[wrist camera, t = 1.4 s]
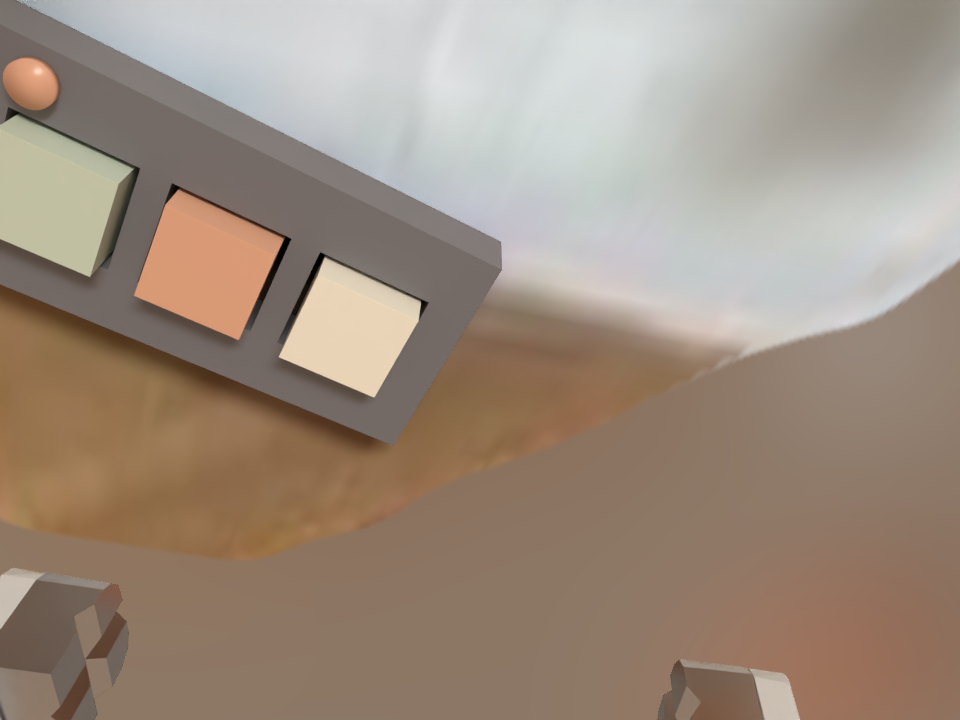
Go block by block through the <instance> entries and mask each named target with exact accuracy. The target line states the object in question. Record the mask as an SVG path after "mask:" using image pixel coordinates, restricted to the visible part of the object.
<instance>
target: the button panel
mask: <svg viewBox="0 0 960 720" xmlns="http://www.w3.org/2000/svg"><path fill="white" fill-rule="evenodd" d="M19 113H22V114H24V115H27V116H29V117H31V118H33V119H35V120H37V121H40V122H42V123H44V124H46V125H48V126H50V127H52V128H55V129H57V130H59V131H61V132H63V133H65V134H67V135H70V136H72V137H74V138H76V139H78V140H80V141H83V142H85V143H87V144H89V145H91V146H93V147H95V148H98V149H100V150H102V151H104V152H106V153H108V154H110V155H113V156H115V157H117V158H119V159H121V160H123V161H126V162H128V163H130V164H132V165H134V166H136V167H138V168H140V171H139V174H138V177H137V180H136V184H135V187H134V190H133V193H132V196H131V199H130V202H129V205H128V209H127V212H126V215H125V218H124V221H123V224H122V227H121V230H120V234H119V237H118V240H117V243H116V246H115V249H114V250H113V251H112V253H111V254H110V255H109V256H108V257H107V258H106V259H105V261H104V262H103V263H102V264H101V265H100V266H99V267H98V268H97V270H96V271H95V272H94V273H93V274H92V275H91V276H90V277H89V276H86V275H84V274H82V273H79V272H77V271H75V270H72V269H70V268H67V267H65V266H63V265H60V264H58V263H56V262H53V261H51V260H49V259H46V258H44V257H42V256H39V255H37V254H34V253H32V252H30V251H27V250H25V249H23V248H20V247H18V246H16V245H13V244H11V243H9V242H6V241H4V240H1V239H0V284H1V285H3V286H5V287H8V288H10V289H13V290H15V291H18V292H20V293H22V294H25V295H27V296H30V297H32V298H35V299H37V300H39V301H42V302H44V303H47V304H49V305H52V306H54V307H57V308H59V309H61V310H64V311H66V312H69V313H71V314H74V315H76V316H78V317H81V318H83V319H86V320H88V321H91V322H93V323H96V324H98V325H100V326H103V327H105V328H108V329H110V330H113V331H115V332H117V333H120V334H122V335H125V336H127V337H130V338H132V339H135V340H137V341H139V342H142V343H144V344H147V345H149V346H152V347H154V348H156V349H159V350H161V351H164V352H166V353H169V354H171V355H173V356H176V357H178V358H181V359H183V360H186V361H188V362H191V363H193V364H195V365H198V366H200V367H203V368H205V369H208V370H210V371H212V372H215V373H217V374H220V375H222V376H225V377H227V378H230V379H232V380H234V381H237V382H239V383H242V384H244V385H247V386H249V387H251V388H254V389H256V390H259V391H261V392H264V393H266V394H269V395H271V396H273V397H276V398H278V399H281V400H283V401H286V402H288V403H290V404H293V405H295V406H298V407H300V408H303V409H305V410H307V411H310V412H312V413H315V414H317V415H320V416H322V417H325V418H327V419H329V420H332V421H334V422H337V423H339V424H342V425H344V426H346V427H349V428H351V429H354V430H356V431H359V432H361V433H364V434H366V435H368V436H371V437H373V438H376V439H378V440H381V441H383V442H385V443H388V444H390V445H394V444H395V442H396V441H397V439H398V437H399V436H400V434H401V432H402V431H403V429H404V428H405V426H406V424H407V423H408V421H409V420H410V418H411V416H412V415H413V413H414V411H415V410H416V408H417V407H418V405H419V403H420V402H421V400H422V398H423V397H424V395H425V394H426V392H427V390H428V389H429V387H430V385H431V384H432V382H433V381H434V379H435V377H436V376H437V374H438V372H439V371H440V369H441V368H442V366H443V364H444V363H445V361H446V359H447V358H448V356H449V355H450V353H451V351H452V350H453V348H454V346H455V345H456V343H457V342H458V340H459V338H460V337H461V335H462V334H463V332H464V330H465V329H466V327H467V325H468V324H469V322H470V321H471V319H472V317H473V316H474V314H475V312H476V311H477V309H478V308H479V306H480V304H481V303H482V301H483V299H484V298H485V296H486V295H487V293H488V291H489V290H490V288H491V286H492V285H493V283H494V282H495V280H496V278H497V277H498V275H499V273H500V272H501V270H502V258H501V242H500V241H498V240H496V239H494V238H492V237H490V236H488V235H486V234H484V233H482V232H480V231H478V230H476V229H474V228H472V227H470V226H468V225H466V224H464V223H462V222H460V221H458V220H456V219H454V218H452V217H450V216H448V215H446V214H444V213H442V212H440V211H438V210H436V209H434V208H432V207H430V206H428V205H426V204H424V203H422V202H420V201H418V200H416V199H414V198H412V197H410V196H408V195H406V194H404V193H402V192H400V191H398V190H396V189H394V188H392V187H390V186H387V185H385V184H383V183H381V182H379V181H377V180H375V179H373V178H371V177H369V176H367V175H365V174H363V173H361V172H359V171H357V170H355V169H353V168H351V167H349V166H347V165H345V164H343V163H341V162H339V161H337V160H335V159H333V158H331V157H329V156H327V155H325V154H323V153H321V152H319V151H317V150H315V149H313V148H311V147H309V146H307V145H305V144H303V143H301V142H299V141H297V140H295V139H293V138H291V137H289V136H287V135H285V134H283V133H281V132H279V131H277V130H275V129H273V128H271V127H269V126H267V125H265V124H263V123H261V122H259V121H257V120H255V119H253V118H251V117H249V116H247V115H245V114H243V113H241V112H239V111H237V110H235V109H233V108H231V107H229V106H227V105H225V104H223V103H221V102H219V101H217V100H215V99H213V98H211V97H209V96H207V95H205V94H203V93H201V92H199V91H197V90H195V89H193V88H191V87H189V86H187V85H185V84H183V83H181V82H179V81H177V80H175V79H173V78H171V77H169V76H167V75H165V74H163V73H161V72H159V71H157V70H155V69H153V68H151V67H149V66H147V65H145V64H143V63H141V62H139V61H137V60H135V59H133V58H131V57H129V56H127V55H125V54H123V53H121V52H119V51H117V50H115V49H113V48H111V47H109V46H107V45H105V44H103V43H101V42H99V41H97V40H95V39H93V38H91V37H89V36H87V35H85V34H83V33H81V32H79V31H77V30H75V29H73V28H71V27H69V26H67V25H64V24H62V23H60V22H58V21H56V20H54V19H52V18H50V17H48V16H46V15H44V14H42V13H40V12H38V11H36V10H34V9H32V8H30V7H28V6H26V5H24V4H22V3H20V2H18V1H16V0H0V125H1V124H3V123H4V122H6V121H8V120H9V119H11V118H12V117H14V116H16V115H17V114H19ZM180 187H181V188H184V189H186V190H188V191H190V192H192V193H194V194H196V195H199V196H201V197H203V198H205V199H207V200H209V201H212V202H214V203H216V204H218V205H220V206H222V207H224V208H227V209H229V210H231V211H233V212H235V213H237V214H240V215H242V216H244V217H246V218H248V219H250V220H252V221H255V222H257V223H259V224H261V225H263V226H265V227H267V228H270V229H272V230H274V231H276V232H278V233H280V234H283V235H285V236H287V237H289V238H291V241H290V243H289V246H288V248H287V250H286V252H285V255H284V257H283V259H282V261H281V264H280V266H279V268H278V270H277V273H276V275H275V277H274V279H273V281H272V284H271V286H270V288H269V290H268V293H267V295H266V297H265V299H264V301H263V300H261V299H258V300H257V303H256V305H255V307H254V309H253V312H252V314H251V316H250V318H249V320H248V322H247V324H246V326H245V328H244V330H243V332H242V334H241V336H240V338H239V340H237V339H235V338H232V337H230V336H228V335H225V334H223V333H221V332H218V331H216V330H214V329H211V328H209V327H207V326H204V325H202V324H199V323H197V322H195V321H192V320H190V319H188V318H185V317H183V316H181V315H178V314H176V313H174V312H171V311H169V310H166V309H164V308H162V307H159V306H157V305H155V304H152V303H150V302H148V301H145V300H143V299H141V298H138V297H136V296H134V294H135V291H136V288H137V285H138V282H139V280H140V277H141V274H142V271H143V268H144V265H145V262H146V259H147V256H148V254H149V251H150V248H151V245H152V242H153V239H154V236H155V233H156V230H157V227H158V225H159V222H160V219H161V216H162V213H163V210H164V207H165V205H166V204H167V202H168V201H169V200H170V199H171V198H172V196H173V195H174V194H175V193H176V192H177V191H178V189H179V188H180ZM320 252H321V253H323V254H326V255H328V256H330V257H332V258H334V259H336V260H338V261H341V262H343V263H345V264H347V265H349V266H351V267H353V268H356V269H358V270H360V271H362V272H364V273H366V274H369V275H371V276H373V277H375V278H377V279H379V280H381V281H384V282H386V283H388V284H390V285H392V286H394V287H396V288H399V289H401V290H403V291H405V292H407V293H409V294H412V295H414V296H416V297H418V298H420V299H422V300H421V307H420V314H419V321H418V323H417V324H416V326H415V328H414V330H413V331H412V333H411V335H410V337H409V338H408V340H407V342H406V343H405V345H404V347H403V349H402V350H401V352H400V354H399V356H398V357H397V359H396V361H395V363H394V364H393V366H392V368H391V370H390V371H389V373H388V375H387V376H386V378H385V380H384V382H383V383H382V385H381V387H380V389H379V390H378V392H377V394H376V396H375V397H372V396H369V395H367V394H365V393H362V392H360V391H357V390H355V389H353V388H350V387H348V386H346V385H343V384H341V383H339V382H336V381H334V380H332V379H329V378H327V377H324V376H322V375H320V374H317V373H315V372H313V371H310V370H308V369H306V368H303V367H301V366H299V365H296V364H294V363H291V362H289V361H287V360H284V359H282V358H280V357H279V355H280V353H281V350H282V347H283V345H284V342H285V340H286V337H287V335H288V332H289V330H290V327H291V325H292V322H293V320H294V318H295V316H296V315H295V314H292V310H293V308H294V306H295V304H296V302H297V300H298V298H299V296H300V294H301V291H302V289H303V287H304V285H305V283H306V281H307V279H308V277H309V275H310V272H311V270H312V268H313V266H314V264H315V262H316V260H317V258H318V256H319V253H320Z"/></svg>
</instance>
